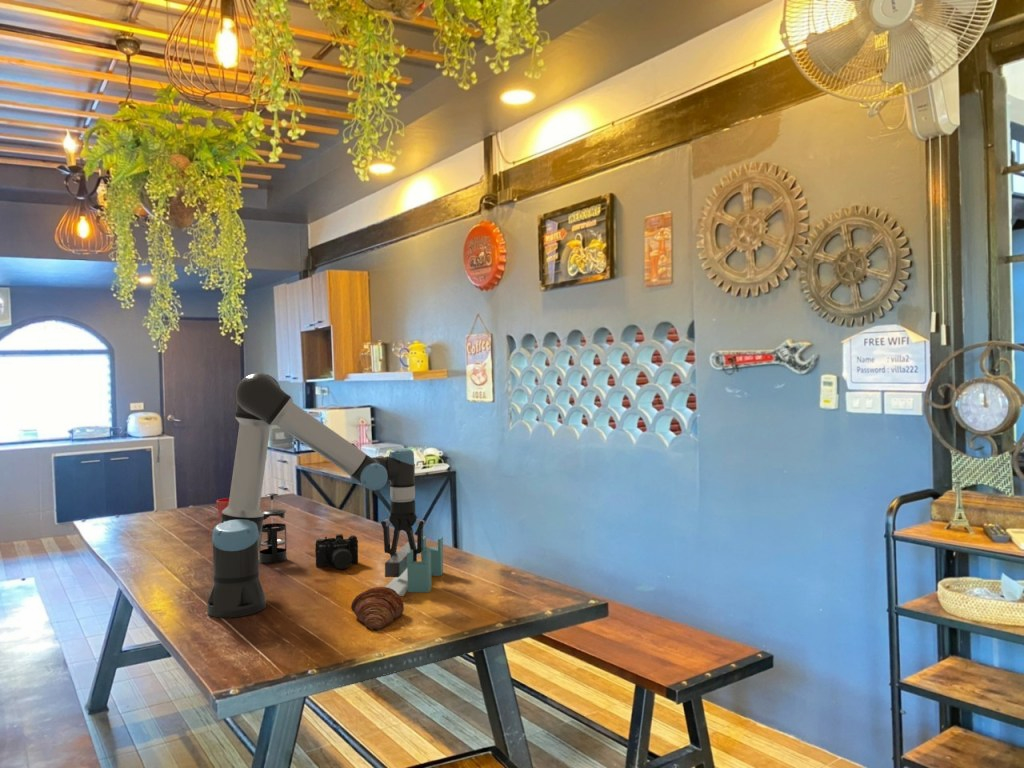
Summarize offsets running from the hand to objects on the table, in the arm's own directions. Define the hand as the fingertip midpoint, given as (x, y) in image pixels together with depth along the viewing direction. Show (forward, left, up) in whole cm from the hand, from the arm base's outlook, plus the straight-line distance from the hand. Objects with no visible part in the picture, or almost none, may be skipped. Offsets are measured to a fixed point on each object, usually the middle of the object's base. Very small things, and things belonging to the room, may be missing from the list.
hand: (404, 575), depth 231 cm
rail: (0, 0, +3) cm, 3 cm away
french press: (+23, +52, -2) cm, 57 cm away
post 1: (-9, -7, -2) cm, 11 cm away
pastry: (-34, -2, -2) cm, 34 cm away
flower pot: (+88, +100, -2) cm, 133 cm away
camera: (+16, +26, -2) cm, 31 cm away
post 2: (+9, -7, -2) cm, 11 cm away
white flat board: (0, 0, -2) cm, 2 cm away
